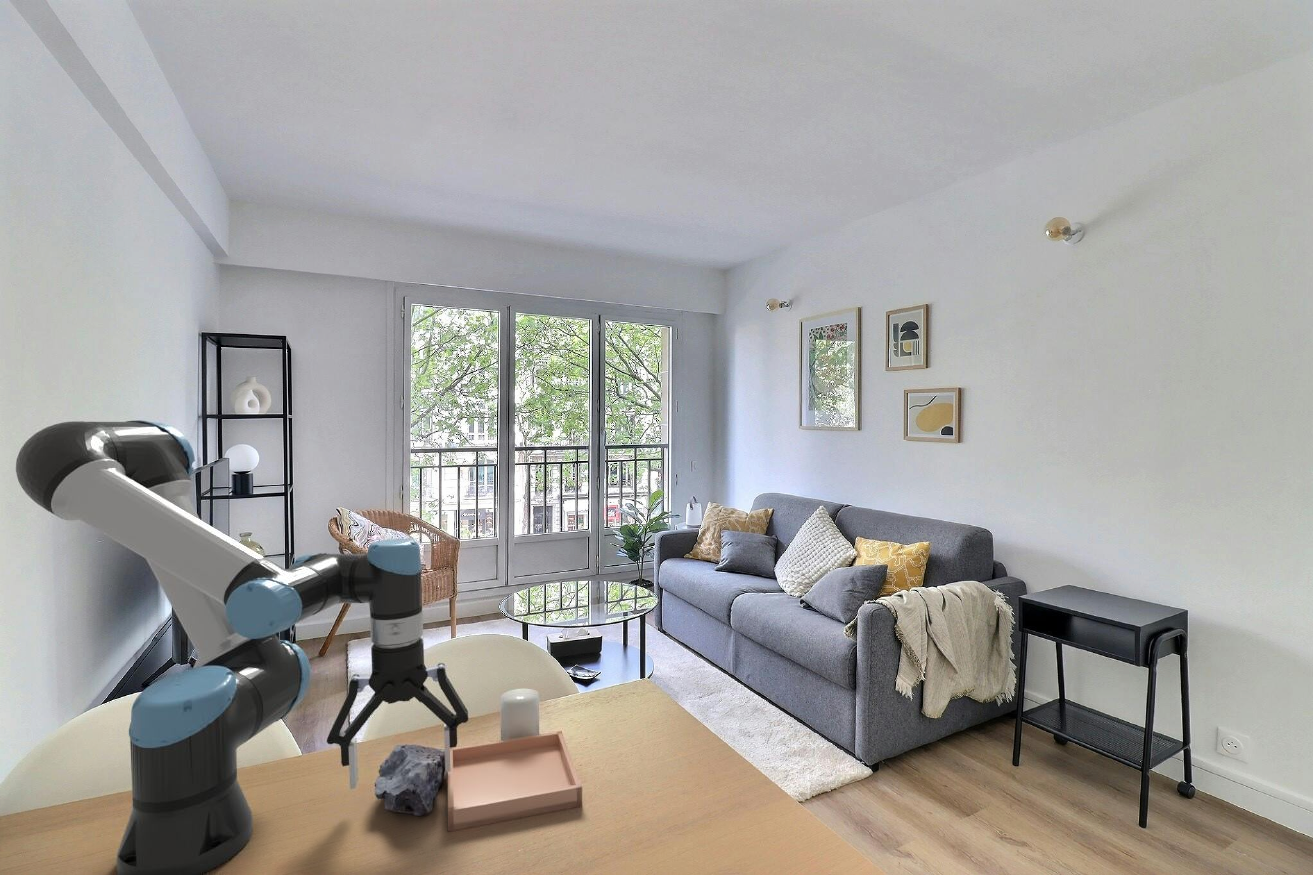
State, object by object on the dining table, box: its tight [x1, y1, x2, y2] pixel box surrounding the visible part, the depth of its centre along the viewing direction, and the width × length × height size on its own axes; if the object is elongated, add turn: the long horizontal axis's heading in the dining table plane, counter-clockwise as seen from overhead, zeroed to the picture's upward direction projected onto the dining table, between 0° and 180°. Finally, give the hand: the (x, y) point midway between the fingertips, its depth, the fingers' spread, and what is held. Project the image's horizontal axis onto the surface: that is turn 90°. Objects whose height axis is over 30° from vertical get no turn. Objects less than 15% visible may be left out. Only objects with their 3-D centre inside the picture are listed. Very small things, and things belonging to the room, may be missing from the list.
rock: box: [374, 744, 446, 817], centre depth 100 cm, size 14×10×10 cm
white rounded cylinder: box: [499, 688, 540, 740], centre depth 119 cm, size 7×7×8 cm
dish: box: [447, 730, 583, 832], centre depth 104 cm, size 20×19×3 cm
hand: (401, 775), depth 100 cm, fingers open, 13 cm apart
